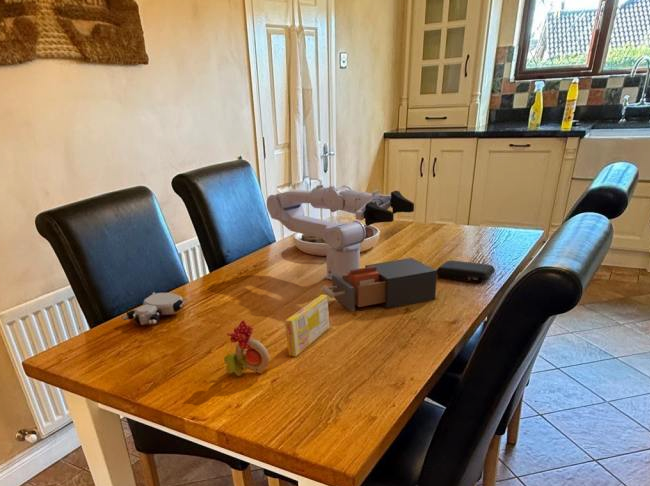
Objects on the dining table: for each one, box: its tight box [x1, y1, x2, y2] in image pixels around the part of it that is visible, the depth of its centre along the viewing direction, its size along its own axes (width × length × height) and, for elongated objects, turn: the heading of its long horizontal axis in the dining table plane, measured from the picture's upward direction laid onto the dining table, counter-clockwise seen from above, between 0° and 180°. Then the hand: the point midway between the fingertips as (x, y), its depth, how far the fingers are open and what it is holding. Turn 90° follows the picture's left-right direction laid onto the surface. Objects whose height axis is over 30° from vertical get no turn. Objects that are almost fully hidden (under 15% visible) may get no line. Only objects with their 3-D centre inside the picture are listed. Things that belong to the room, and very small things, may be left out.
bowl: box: [293, 221, 380, 257], centre depth 180 cm, size 30×30×8 cm
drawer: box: [321, 274, 386, 312], centre depth 131 cm, size 17×12×6 cm
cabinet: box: [364, 257, 438, 309], centre depth 134 cm, size 14×13×8 cm
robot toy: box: [120, 291, 190, 326], centre depth 134 cm, size 12×4×15 cm
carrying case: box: [436, 260, 496, 283], centre depth 144 cm, size 11×3×15 cm
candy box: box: [284, 294, 330, 357], centre depth 113 cm, size 16×2×8 cm, turn 149°
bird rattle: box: [223, 319, 270, 377], centre depth 102 cm, size 6×11×9 cm
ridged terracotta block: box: [348, 266, 379, 300], centre depth 131 cm, size 7×5×7 cm
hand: (402, 212), depth 127 cm, fingers open, 7 cm apart
